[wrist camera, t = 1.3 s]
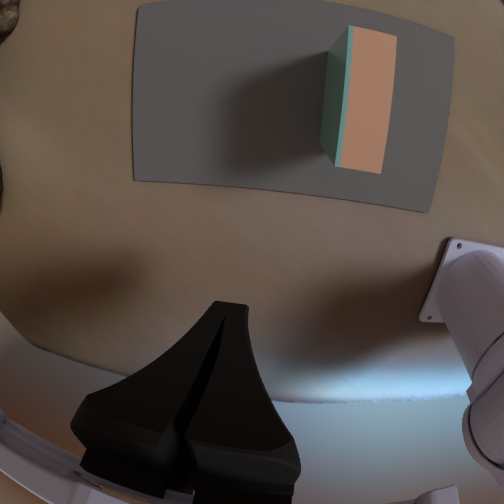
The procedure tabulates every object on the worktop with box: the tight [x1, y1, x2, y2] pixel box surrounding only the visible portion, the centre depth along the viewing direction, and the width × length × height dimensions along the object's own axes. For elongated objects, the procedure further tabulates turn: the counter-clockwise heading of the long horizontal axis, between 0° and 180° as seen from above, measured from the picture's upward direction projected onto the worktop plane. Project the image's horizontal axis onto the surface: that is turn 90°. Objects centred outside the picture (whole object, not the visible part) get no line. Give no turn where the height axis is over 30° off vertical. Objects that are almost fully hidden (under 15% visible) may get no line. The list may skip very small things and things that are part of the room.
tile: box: [319, 25, 397, 174], centre depth 13 cm, size 2×6×7 cm, turn 176°
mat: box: [133, 0, 454, 213], centre depth 17 cm, size 21×13×1 cm, turn 86°
